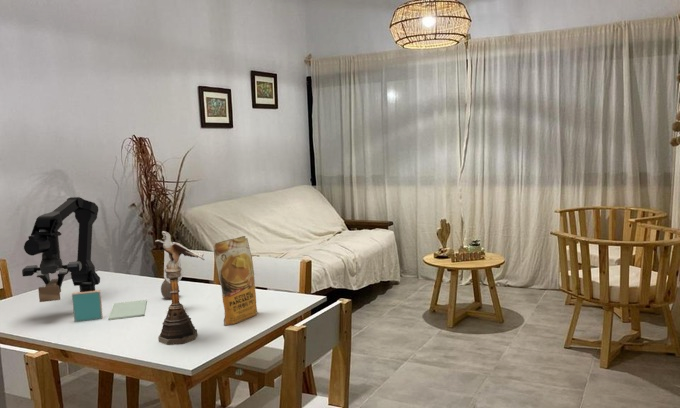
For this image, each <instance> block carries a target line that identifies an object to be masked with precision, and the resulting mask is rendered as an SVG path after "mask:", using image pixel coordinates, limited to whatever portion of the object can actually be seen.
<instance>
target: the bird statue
mask: <svg viewBox="0 0 680 408" xmlns="http://www.w3.org/2000/svg"><path fill="white" fill-rule="evenodd" d="M161 235H162V236H163V237H162V238H161V239H156V240H155V241H154V243H155V244H157V245H159V246H161V247H162V248H163V250H165V251H166V252H168V253H169V257H170V259H171V260H170V261H169V262H168V263H167V265H166V267H167V268H166V269H165V272H166V273H167V274H166V277H167V278H169V279H170V280H169V281H170V284H171V291H170V293H171V296H172V299H171V304H170V305H169V306H168V307H167V308H168V309H169V310H168V309H167V310H168V312H166V316H165V318H164V321H163V322H162V327H161V330H160V331H161V332H160V334H159V335H158V343H161V344H164V345H166V346H168V345H171V346H173V345H183V344H186V343H189V342H191V341H194V340H196V337H197V336H198V329H196V327H195V326H194V324H193V321H192V318H191V317H190V315H189V314H188V313H187V311H186V309H185V310H184V308H185V307H184V305H183V304H182V303H180V293H179V292H180V291H181V290H180V289H179V290H178V286H179V282H178V278H179V277H180V276H181V273H180V272H181V270H182V271H183V268H182V269H181V268H180V267H179V263H178V259H179V257H180V258H181V255H183V256H184V257H189V258H197V259H198V258H200V260H203V261H205V258H204V253H202V252H201V253H200V252H195V251H192V250H190V249H189V248H187V247H186V246H184V245H182V244H181V243H179V242H177V241H176V242H175V241H172V239H171V238H172V235H171V234H170V233H169V232H167V231H165V230H162V231H161ZM183 307H184V308H183Z"/></svg>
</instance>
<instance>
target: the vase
mask: <svg viewBox="0 0 680 408" xmlns="http://www.w3.org/2000/svg"><path fill="white" fill-rule="evenodd" d="M179 287H180V286H179V285H178V290H180V288H179ZM170 291H171V284H170V283H169V282H168V281H166V279H165V278H164V280H163V282H162V283H161V286H160V293H161V295H162V297H163V298H164V300H172V296H171V293H170Z"/></svg>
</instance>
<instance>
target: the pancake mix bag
mask: <svg viewBox="0 0 680 408" xmlns="http://www.w3.org/2000/svg"><path fill="white" fill-rule="evenodd" d="M213 256H214V261H215V265H216V272H217V278H218V281H219V284H220V288H221V296H222V304H223V309H224V318H223V325H224V326H228V325H235V324H238V323H240V322H243V321H245V320H248V319H249V318H250V319H251V318H253V317H255V316H257V315H258V314H257V313H258V309H257V293H256V283H255V281H256V280H255V270H254V264H253V263H254V262H253V258H252V253H251V250H250V245H249V240H248V238H247V237H246V235H243V236H239V237H236V238H230V239H226V240H221V241H219V242H216V243H214V246H213Z"/></svg>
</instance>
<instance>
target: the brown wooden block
mask: <svg viewBox="0 0 680 408" xmlns="http://www.w3.org/2000/svg"><path fill="white" fill-rule="evenodd" d="M37 289H38V290H37V291H38V299H39V303H44V302H45V303H46V302H54V301H55V302H56V301H61V292H62V288H61V289H59V285H58V278H52V279H50V282H49V283H48V284H47V285H46V284H45V286H39V287H38V288H37Z"/></svg>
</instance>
